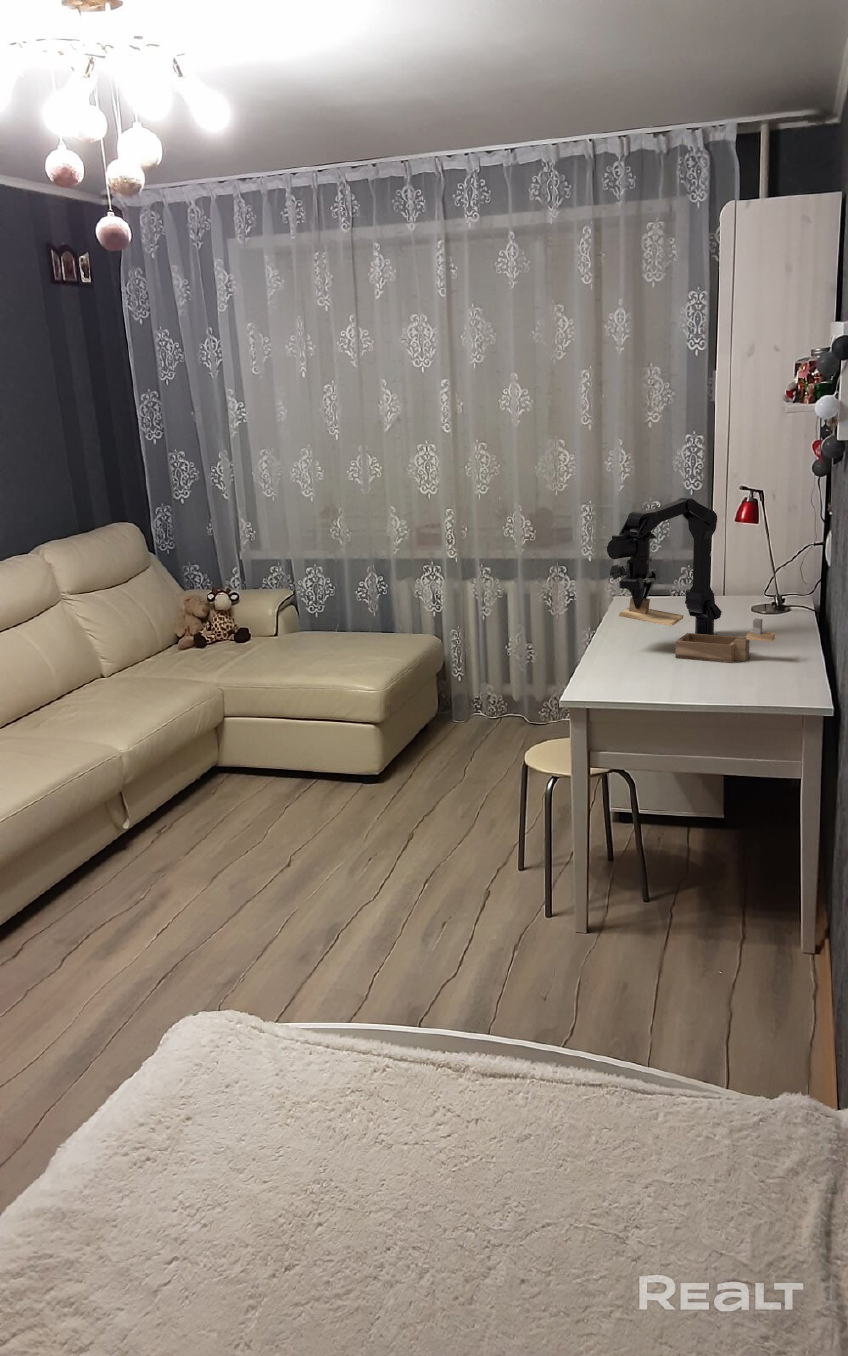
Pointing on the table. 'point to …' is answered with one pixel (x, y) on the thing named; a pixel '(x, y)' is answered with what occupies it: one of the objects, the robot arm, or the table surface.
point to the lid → (650, 614)
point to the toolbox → (712, 648)
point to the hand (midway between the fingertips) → (639, 607)
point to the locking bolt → (759, 632)
